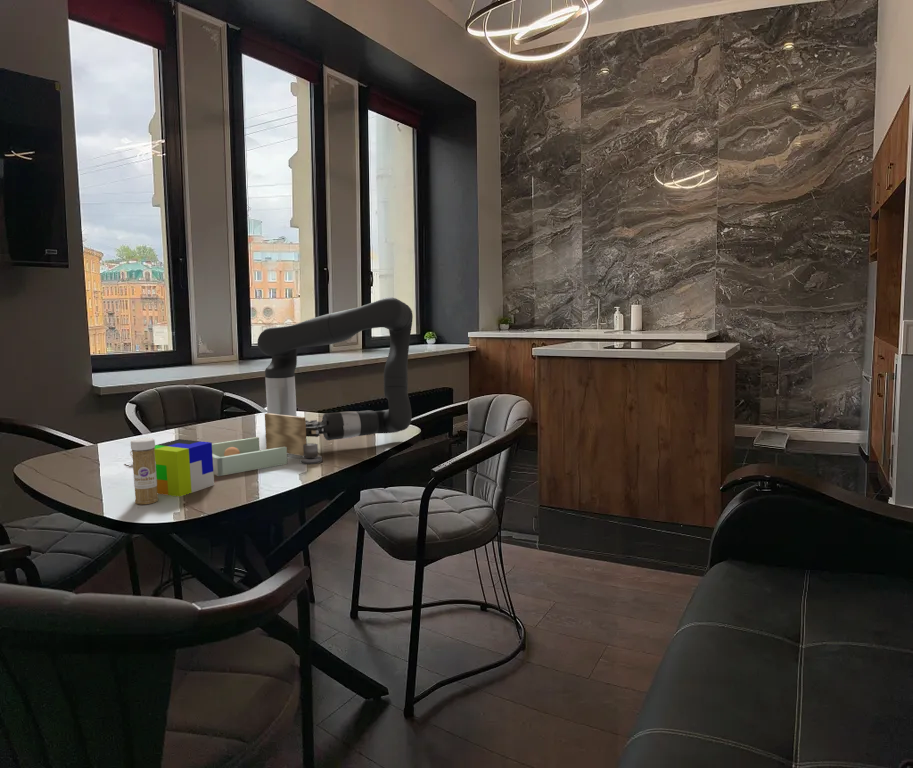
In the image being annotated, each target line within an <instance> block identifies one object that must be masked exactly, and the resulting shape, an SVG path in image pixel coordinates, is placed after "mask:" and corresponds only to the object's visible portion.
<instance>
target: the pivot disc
mask: <svg viewBox="0 0 913 768" xmlns="http://www.w3.org/2000/svg"><path fill="white" fill-rule="evenodd" d="M322 462H323V456H322V455H318V456H317V457H314V458H305V457H304V456H300V458H299V464H302V465H314V464H321V463H322Z"/></svg>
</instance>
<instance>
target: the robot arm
mask: <svg viewBox="0 0 913 768" xmlns="http://www.w3.org/2000/svg"><path fill="white" fill-rule="evenodd" d="M413 317H414V316H413V311H412V308H411V307H410V306H409V305H408V304H406V303H405V302H403V301H402V300H399V298H396V297H390V296H389V297H388V296H387V297H385V298H380V299H378V300H376V301H374V302H373V301H372V302H370V303H367V304H364V305H362V306H358V307H354V308H349V309H345V310H340V311H336V312H331V313H326V314H323V315H319V316H316V317H312V318H310V319H308V320H304V321H301V322H299V323H295V324H291V325H286V326H276V327H269V328H266V329H264V330H263V331H262V332H261V333H260V334H259V336H258V337H257V347H258V349H259V351H260V352H261V353H262V354H263V355H266V356H269V357H271V361H270V363H269V364H268V366H266V368H265V369H264V374H265V375H264V376H265V377H264V379H265V397H266V413H272V414H280V415H289V416H297V397H296V395H297V394H296V375H295V374H296V373H295V372H296V369H297V363H298V362H297V361H298V360H297V359H298V356H297V355H298V349H300V348H310V347H311V348H312V347H320V346H328V345H333V344H337V343H342V342H346V341H347V340H349V339H351V338H352V337H354V336H356V335H357V334H358V333H361V332H362V331H365V330H370V329H379V328H383V329H384V328H385V329H386V330H388V332H389V339H390V340H389V341H390V344H389V345H390V346H389V352H388V354H387V358H386V361H385V365H384V370H383V395H384V398H386V399H387V404H388V405H387V406H388V409H383V410H375V411H374V410H371V409H370V410H368V409H367V410H360V411H359V410H358V411H349V410H348V411H338V412H327V413H324V414H323V415H322V417H321V418H322V420H321V421H318V420H317V419H312V420H310V421H309V420H306V419H305V420H306V437H310V438H311V437H312V438H314V437H315V438H318V437H320V436H321V435H323V437H324V440H326V441H334V440H342V439H351V438H355V437H362V436H372V435H374V434H391V433H392V434H394V433H398V432H403V431H405V430H407V429H409V426H410V425H411V424H412V423H411V422H412V415H413V413H412V407H411V402H410V398H409V393H408V392H409V389H408V388H409V382H408V381H409V380H408V378H409V377H408V376H409V375H408V361H409V360H408V359H409V349H410V341H411V334H412V333H411V332H412V328H413Z"/></svg>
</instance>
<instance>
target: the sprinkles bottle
mask: <svg viewBox="0 0 913 768" xmlns="http://www.w3.org/2000/svg"><path fill="white" fill-rule="evenodd" d="M155 445H156V440H155V439H154V437H140V438H134V439H132V440H130V449H131V450H130V451H132V456H133V458H132V460H133V462H132V465H133V466H132V470H133V486H134V499H135V501H134V503H135V504H136V505H142V506H143V505H151V504H155V503H156V502H158V501H159V497H158V495H159V494H157V475H156V462H155V451H154V450H155Z"/></svg>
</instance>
